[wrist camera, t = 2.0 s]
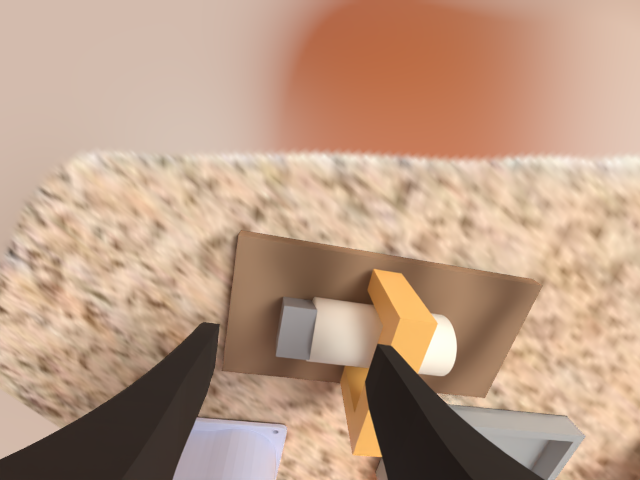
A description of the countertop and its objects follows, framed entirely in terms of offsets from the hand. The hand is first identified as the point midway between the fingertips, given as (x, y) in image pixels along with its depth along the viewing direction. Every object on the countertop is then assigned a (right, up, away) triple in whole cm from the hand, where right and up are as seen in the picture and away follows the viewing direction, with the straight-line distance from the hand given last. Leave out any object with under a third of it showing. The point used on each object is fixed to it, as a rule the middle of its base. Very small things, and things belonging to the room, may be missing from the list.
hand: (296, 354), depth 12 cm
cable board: (+5, -2, +11) cm, 12 cm away
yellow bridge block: (+4, -2, +10) cm, 11 cm away
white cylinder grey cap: (+4, -2, +10) cm, 11 cm away
